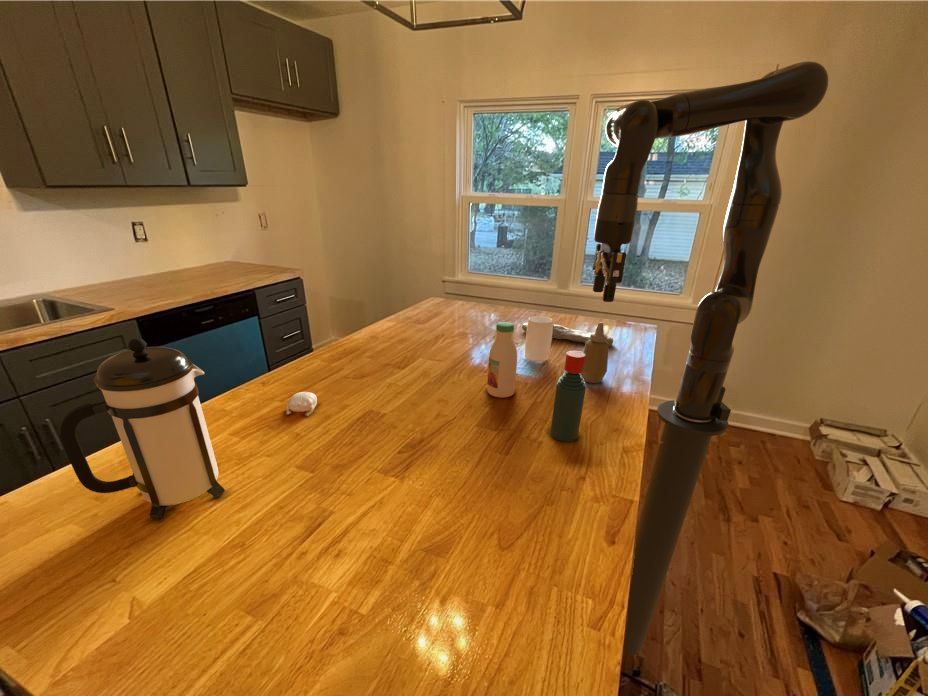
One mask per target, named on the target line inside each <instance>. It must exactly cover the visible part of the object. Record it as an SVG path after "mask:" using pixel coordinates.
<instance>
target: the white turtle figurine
mask: <svg viewBox="0 0 928 696" xmlns="http://www.w3.org/2000/svg"><path fill="white" fill-rule="evenodd" d="M317 397H318V396H317V395H316V394H315V393H314V392H310V391H298V392H296V393H294V394H293V395H292V396H291V397H290V398H289V399H288V400H287V406H286V414H285V415H286V416H287V415H289V414H290V415H291V414H292V412H294V413H303V412H306V414H304V416H309V415H311V414H312V413H313V411H314V410H315V408H316V406H317V405H318V398H317Z"/></svg>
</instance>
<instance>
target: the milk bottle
mask: <svg viewBox="0 0 928 696" xmlns="http://www.w3.org/2000/svg"><path fill="white" fill-rule="evenodd" d="M495 329H496V331H495V332H496V336H495V339H494V340H493V343H492V345H491V347H490V349H489V353H488V354H489V355H488V365H487V366H488V367H487V382H486V383H487V384H486V390H487V391H486V392H487V393H488V394H489V395H490V396H492V397H495V398H501V399H503V398H509V397H511V396H513V395H514V394H515V391H516V380H517V367H518V349H517V346H516V344H515V341H514V335H513V334H514V332H515V331H514V330H515V324H514V323H513V322H510V321H500V322H497V323H496V328H495Z"/></svg>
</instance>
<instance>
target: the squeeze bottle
mask: <svg viewBox="0 0 928 696" xmlns="http://www.w3.org/2000/svg"><path fill="white" fill-rule="evenodd" d="M607 336H608V335H607V334H606V333H605V331H604V322H603V321H599V322H598V323H597V326H596V328H595V331H594V332H591V335H590V339H589V340H588V341H586V343H584V344H585V345H584V348H583V351H582V352H583V353H585V355H586V356H585V364H584V370H583V372H582V373H581V375H582V378H583V379H584V381H585V383H590V384H598V383H601V382H602V380H603V379H604V377H605V375H606V374H607V372H608V363H609V362H608V361H609V360H608V359H609V348H610V346H609V344H608V343H607V342H606V340H607Z"/></svg>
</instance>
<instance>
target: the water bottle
mask: <svg viewBox="0 0 928 696" xmlns="http://www.w3.org/2000/svg"><path fill="white" fill-rule="evenodd" d="M586 383H587V382H586V381H584V379H583V378H582V375H581V373H579V374H574V373H569V372H567V371H565V372H563V374H562V375H561V376H560V377H559V378H558V380H557V382H556V386H555V393H554V401H553V409H552V416H551V424H550V430H549V431H550V432H549V434H550V436H551V437H552V438H554V439H556V440H558V441H560V442H561V441H562V442H572V441H573V442H574V441H575V440H577V439H578V437H579V432H580V425H581V420H582V414H583V409H584V402H585V396H586V391H587V385H586Z"/></svg>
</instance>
